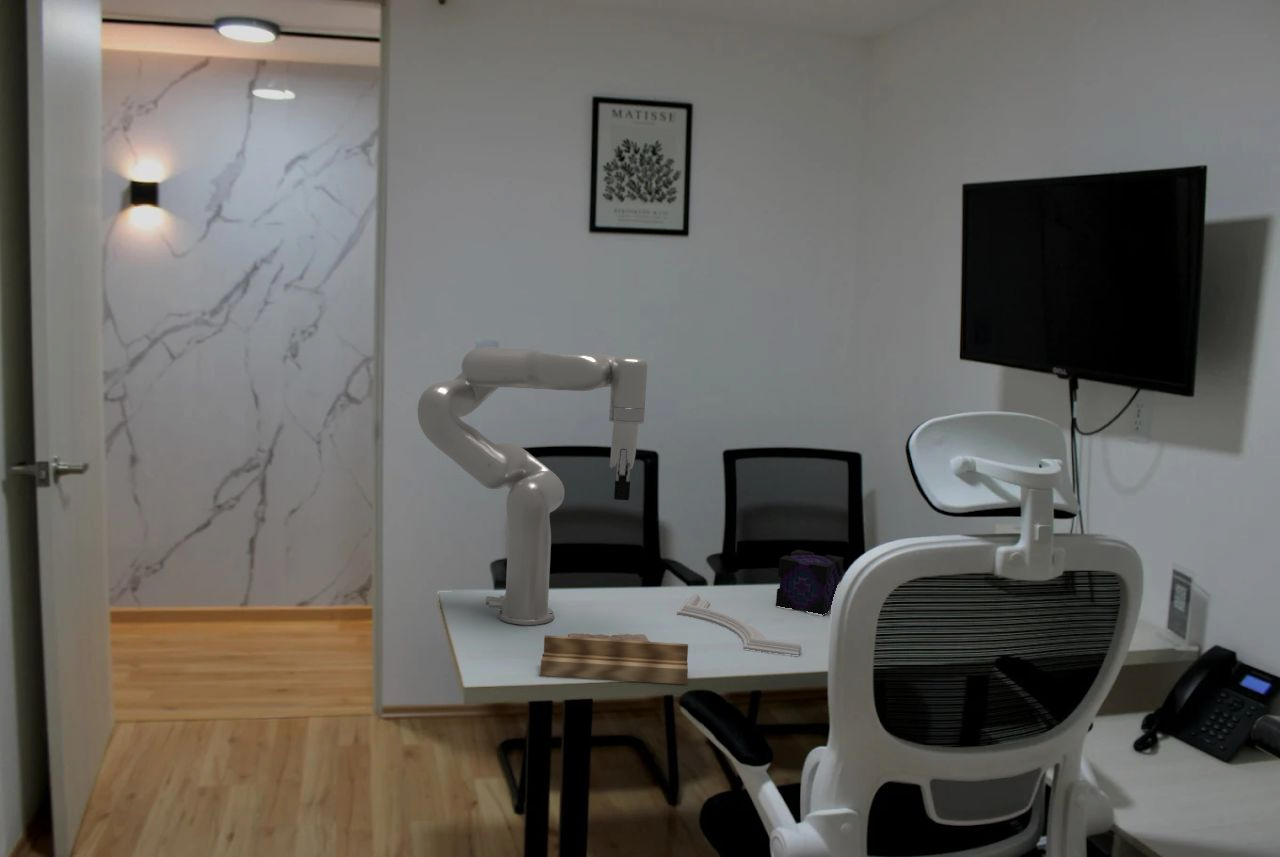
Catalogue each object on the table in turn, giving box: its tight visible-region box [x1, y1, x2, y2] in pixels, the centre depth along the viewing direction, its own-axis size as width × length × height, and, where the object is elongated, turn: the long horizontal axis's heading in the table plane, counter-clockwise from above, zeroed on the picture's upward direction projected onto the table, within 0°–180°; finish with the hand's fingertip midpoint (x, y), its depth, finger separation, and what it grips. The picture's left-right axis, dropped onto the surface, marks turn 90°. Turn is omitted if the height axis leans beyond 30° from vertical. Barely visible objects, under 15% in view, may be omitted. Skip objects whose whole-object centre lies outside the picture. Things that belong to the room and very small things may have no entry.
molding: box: [676, 593, 802, 656], centre depth 249 cm, size 42×12×3 cm, turn 31°
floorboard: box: [540, 634, 689, 685], centre depth 217 cm, size 28×10×6 cm, turn 89°
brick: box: [567, 632, 651, 642], centre depth 224 cm, size 17×8×5 cm, turn 103°
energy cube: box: [775, 549, 844, 615], centre depth 270 cm, size 12×12×12 cm
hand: (621, 499), depth 240 cm, fingers closed
